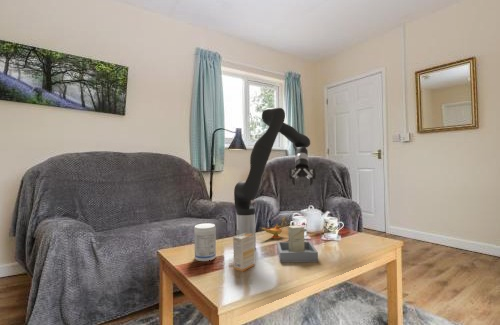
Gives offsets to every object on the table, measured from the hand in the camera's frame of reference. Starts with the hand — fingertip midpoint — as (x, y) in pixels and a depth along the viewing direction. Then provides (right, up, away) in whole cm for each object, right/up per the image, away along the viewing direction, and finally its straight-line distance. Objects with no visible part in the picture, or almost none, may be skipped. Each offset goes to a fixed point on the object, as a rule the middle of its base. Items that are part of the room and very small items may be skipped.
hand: (302, 184), depth 142 cm
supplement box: (-30, -31, -32) cm, 54 cm away
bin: (-7, -31, -20) cm, 37 cm away
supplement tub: (-48, -32, -21) cm, 61 cm away
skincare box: (-6, -30, -19) cm, 36 cm away
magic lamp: (-14, -31, +11) cm, 36 cm away
